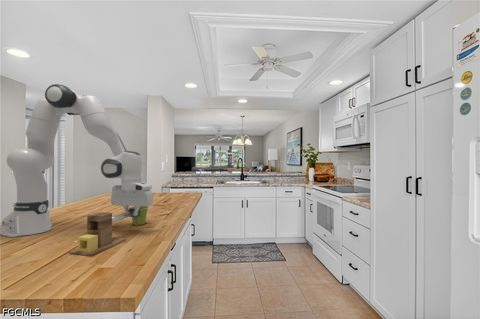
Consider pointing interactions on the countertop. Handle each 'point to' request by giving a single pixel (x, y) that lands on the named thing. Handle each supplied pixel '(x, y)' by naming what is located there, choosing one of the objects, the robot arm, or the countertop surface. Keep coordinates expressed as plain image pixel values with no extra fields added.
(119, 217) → the shaft
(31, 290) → the countertop surface
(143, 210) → the plant pot
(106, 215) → the stand
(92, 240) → the block
